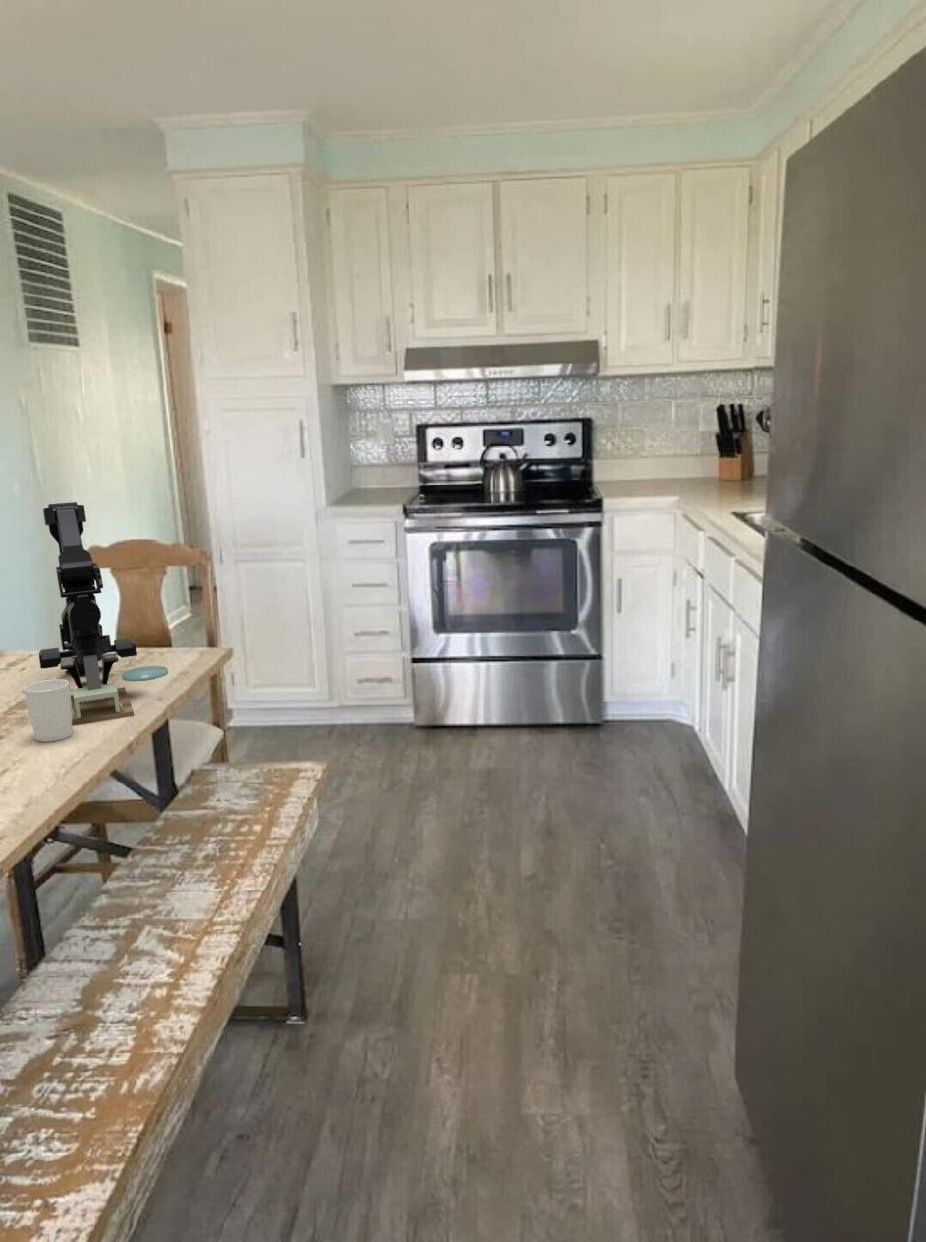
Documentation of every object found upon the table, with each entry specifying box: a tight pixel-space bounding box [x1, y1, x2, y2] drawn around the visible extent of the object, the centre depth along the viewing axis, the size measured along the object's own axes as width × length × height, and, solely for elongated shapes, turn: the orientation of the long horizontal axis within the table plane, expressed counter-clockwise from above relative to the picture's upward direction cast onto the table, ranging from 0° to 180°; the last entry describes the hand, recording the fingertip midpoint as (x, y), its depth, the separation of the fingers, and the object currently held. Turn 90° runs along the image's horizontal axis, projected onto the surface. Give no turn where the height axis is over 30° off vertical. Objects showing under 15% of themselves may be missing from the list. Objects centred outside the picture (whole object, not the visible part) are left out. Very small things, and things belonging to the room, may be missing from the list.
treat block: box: [81, 678, 105, 702], centre depth 206 cm, size 4×4×4 cm
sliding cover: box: [72, 654, 120, 718], centre depth 195 cm, size 6×8×11 cm
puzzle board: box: [71, 686, 135, 726], centre depth 201 cm, size 19×13×1 cm
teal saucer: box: [121, 665, 169, 682], centre depth 225 cm, size 10×10×1 cm
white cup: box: [23, 678, 74, 743], centre depth 185 cm, size 8×8×10 cm
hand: (93, 692), depth 206 cm, fingers closed on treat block, 4 cm apart
